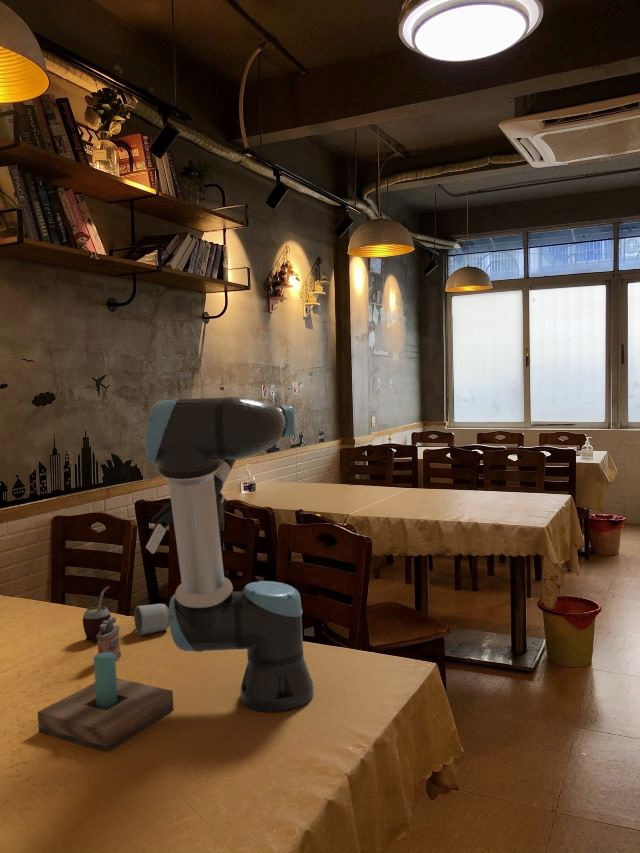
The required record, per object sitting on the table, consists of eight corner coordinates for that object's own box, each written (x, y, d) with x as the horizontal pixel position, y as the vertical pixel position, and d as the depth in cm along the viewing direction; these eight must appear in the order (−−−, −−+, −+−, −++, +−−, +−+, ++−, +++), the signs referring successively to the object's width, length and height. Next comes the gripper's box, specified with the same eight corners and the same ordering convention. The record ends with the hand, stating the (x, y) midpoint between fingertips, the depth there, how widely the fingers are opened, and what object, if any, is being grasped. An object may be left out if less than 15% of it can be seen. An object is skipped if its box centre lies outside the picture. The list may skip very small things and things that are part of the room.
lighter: (108, 667, 164) (105, 626, 164) (94, 667, 165) (92, 625, 164) (124, 654, 172) (121, 615, 171) (111, 654, 173) (109, 614, 172)
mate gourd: (87, 635, 187) (84, 580, 186) (117, 633, 188) (114, 578, 187) (80, 645, 180) (77, 588, 179) (112, 643, 181) (108, 586, 180)
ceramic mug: (172, 632, 187) (170, 604, 187) (142, 639, 183) (140, 610, 182) (159, 622, 196) (157, 595, 196) (130, 628, 192) (129, 601, 191)
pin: (122, 713, 138) (119, 653, 137) (107, 721, 134) (104, 661, 134) (107, 709, 140) (104, 650, 139) (92, 718, 136) (89, 658, 136)
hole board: (173, 709, 141) (172, 690, 140) (107, 752, 125) (105, 730, 125) (108, 694, 149) (107, 676, 149) (38, 732, 134) (37, 711, 133)
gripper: (258, 489, 167) (224, 566, 155) (178, 486, 180) (140, 557, 167) (244, 470, 163) (208, 547, 150) (163, 468, 175) (122, 539, 162)
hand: (172, 552), depth 159 cm, fingers open, 13 cm apart
